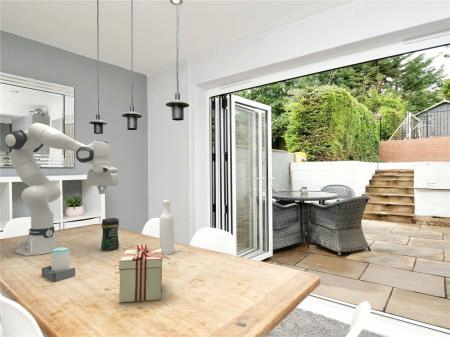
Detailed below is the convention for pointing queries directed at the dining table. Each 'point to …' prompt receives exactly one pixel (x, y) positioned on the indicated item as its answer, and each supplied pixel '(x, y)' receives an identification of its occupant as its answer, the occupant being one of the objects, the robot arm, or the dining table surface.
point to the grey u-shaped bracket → (57, 274)
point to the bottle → (167, 230)
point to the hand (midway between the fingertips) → (101, 193)
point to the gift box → (141, 274)
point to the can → (60, 259)
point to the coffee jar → (110, 234)
